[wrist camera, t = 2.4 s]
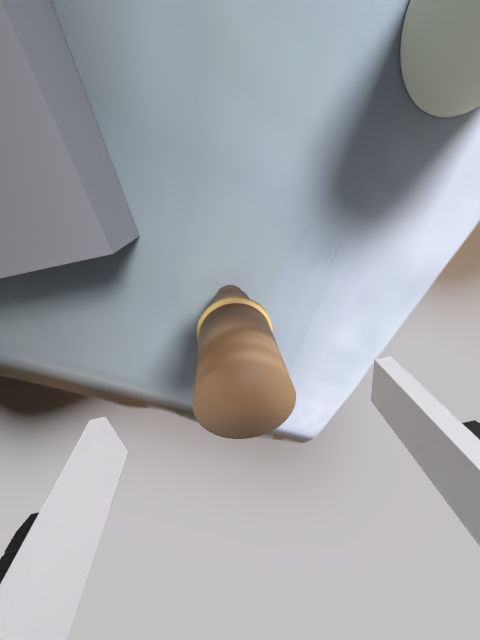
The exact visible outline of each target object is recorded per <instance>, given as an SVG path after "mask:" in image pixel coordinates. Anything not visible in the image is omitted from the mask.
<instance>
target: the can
mask: <svg viewBox="0 0 480 640" xmlns="http://www.w3.org/2000/svg"><path fill="white" fill-rule="evenodd" d="M400 61H401V71H402V76H403V81H404V84H405V86H406V89H407V92H408V94H409V95H410V97H411V99H412V100H413V101H414V103H415V104H416V105H417V106H418V107H419V108H420V109H421V110H423V111H424V112H426V113H428V114H430V115H433V116H437V117H454V116H458V115H462V114H465V113H467V112H469V111H472V110H474V109H476V108H477V107H480V0H410V3H409V6H408V9H407V12H406V16H405V20H404V25H403V29H402V36H401V48H400Z"/></svg>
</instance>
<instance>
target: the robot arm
mask: <svg viewBox="0 0 480 640" xmlns="http://www.w3.org/2000/svg"><path fill="white" fill-rule="evenodd" d="M371 401H372V402H373V404H374V405H375V406H376V408H377V409H378V411H379V412H380V413H381V415H382V416H383V417H384V419H385V420H386V421H387V423H388V424H389V425H390V427H391V428H392V429H393V431H394V432H395V433H396V435H397V436H398V437H399V439H400V440H401V441H402V443H403V444H404V445H405V447H406V448H407V449H408V451H409V452H410V453H411V455H412V456H413V457H414V459H415V460H416V461H417V463H418V464H419V466H420V467H421V468H422V470H423V471H424V472H425V474H426V475H427V476H428V478H429V479H430V480H431V481H432V483H433V484H434V486H435V487H436V488H437V490H438V491H439V492H440V493H441V495H442V496H443V497H444V499H445V500H446V502H447V503H448V504H449V506H450V507H451V508H452V510H453V511H454V512H455V514H456V515H457V516H458V517H459V519H460V520H461V522H462V523H463V524H464V526H465V527H466V528H467V530H468V531H469V532H470V534H471V535H472V536H473V538H474V539H475V540H476V542H477V543H478V544H479V546H480V423H478V422H476V421H475V420H474V421H470V422H465V423H461V422H460V421H459V420H458V419H457V418H456V417H455V416H454V415H453V414H452V413H451V412H449V411H448V410H447V409H446V408H445V407H444V406H443V405H442V404H441V403H440V402H439V401H438V400H437V399H436V398H435V397H433V396H432V395H431V394H430V393H429V392H428V391H427V390H426V389H425V388H424V387H423V386H422V385H421V384H420V383H419V382H417V381H416V380H415V379H414V378H413V377H412V376H411V375H410V374H409V373H408V372H407V371H406V370H405V369H404V368H403V367H401V366H400V365H399V364H398V363H397V362H396V361H395V360H394V359H393V358H392V357H391V356H388V357H384V358H379V359H375V360H374V372H373V383H372V396H371ZM127 455H128V451H127V449H126V448H125V446H124V445H123V443H122V441H121V440H120V438H119V437H118V435H117V434H116V432H115V431H114V429H113V428H112V426H111V425H110V423H109V422H108V420H107V418H106V417H101V418H97V419H92V420H89V422H88V424H87V426H86V428H85V430H84V431H83V433H82V435H81V437H80V439H79V441H78V442H77V444H76V446H75V448H74V450H73V452H72V453H71V455H70V457H69V459H68V461H67V463H66V464H65V466H64V468H63V470H62V472H61V474H60V476H59V477H58V479H57V481H56V483H55V485H54V487H53V488H52V490H51V492H50V494H49V496H48V498H47V499H46V501H45V503H44V505H43V507H42V509H41V510H40V512H39V513H35V514H31V515H30V516H29V518H28V519H27V520H26V521H25V522H24V523H23V525H22V526H21V527H20V528H19V529H18V530H17V532H16V533H15V535H14V537H13V539H12V540H11V542H10V543H9V545H8V547H7V549H6V550H5V554H4V556H2V557H1V559H0V640H67V637H68V634H69V630H70V628H71V624H72V621H73V618H74V615H75V612H76V609H77V606H78V603H79V600H80V597H81V594H82V591H83V588H84V585H85V582H86V579H87V576H88V573H89V569H90V567H91V564H92V561H93V558H94V554H95V552H96V549H97V546H98V543H99V540H100V536H101V533H102V530H103V527H104V524H105V521H106V518H107V515H108V512H109V509H110V506H111V503H112V500H113V497H114V494H115V491H116V488H117V485H118V481H119V479H120V476H121V473H122V469H123V467H124V464H125V461H126V457H127Z"/></svg>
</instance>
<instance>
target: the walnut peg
mask: <svg viewBox="0 0 480 640" xmlns="http://www.w3.org/2000/svg"><path fill="white" fill-rule="evenodd" d="M197 341H198V354H197V364H196V374H195V384H194V394H193V412H194V415H195V417H196V419H197V421H198V422H199V423H200V425H202V427H204V428H205V429H206V430H208V431H209V432H211V433H213V434H215V435H218V436H221V437H225V438H232V439H245V438H253V437H257V436H260V435H263V434H266V433H268V432H270V431H272V430H274V429H276V428H277V427H279V426H280V425H281V424H282V423H283V422H285V421H286V419H287V418H288V417H289V416H290V414H291V413H292V411H293V409H294V406H295V401H296V393H295V389H294V386H293V384H292V381H291V379H290V376H289V374H288V371H287V369H286V366H285V364H284V361H283V359H282V356H281V354H280V351H279V349H278V346H277V343H276V341H275V338H274V336H273V329H272V323H271V321H270V318H269V316H268V314H267V312H266V311H265V309H264V308H263V307H262V306H261V305H259V304H258V303H257V302H255V301H253V300H251V299H249V297H248V296H247V295H246V294H245V293H244V292H243V291H241V290H240V289H239V288H238V287H236V286H233V285H227V286H224V287H222V288H221V289H220V290H219V291H218V293H217V295H216V296H215V297H214V298H213V300H212V303H211V305H210V306H208V307H207V308H206V309H205V311H204V312H203V313H202V315H201V317H200V319H199V321H198V326H197Z"/></svg>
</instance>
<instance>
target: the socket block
mask: <svg viewBox="0 0 480 640" xmlns="http://www.w3.org/2000/svg"><path fill="white" fill-rule="evenodd" d="M138 237H139V233H138V231H137V228H136V225H135V223H134V220H133V217H132V215H131V212H130V210H129V207H128V204H127V202H126V199H125V196H124V194H123V191H122V188H121V186H120V183H119V180H118V178H117V175H116V172H115V170H114V167H113V164H112V162H111V159H110V156H109V154H108V151H107V148H106V146H105V143H104V140H103V138H102V135H101V132H100V130H99V127H98V124H97V122H96V119H95V116H94V114H93V111H92V108H91V106H90V103H89V100H88V98H87V95H86V92H85V90H84V87H83V85H82V82H81V79H80V77H79V74H78V71H77V69H76V66H75V63H74V61H73V58H72V55H71V53H70V50H69V47H68V45H67V42H66V39H65V37H64V34H63V31H62V29H61V26H60V23H59V21H58V18H57V15H56V13H55V10H54V7H53V5H52V2H51V0H0V278H4V277H9V276H13V275H18V274H23V273H27V272H32V271H36V270H41V269H46V268H50V267H55V266H60V265H64V264H69V263H73V262H78V261H83V260H87V259H92V258H96V257H101V256H106V255H110V254H114V253H115V252H117V251H118V250H120V249H121V248H123V247H124V246H126V245H127V244H129V243H130V242H132V241H133V240H135V239H136V238H138Z"/></svg>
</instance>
